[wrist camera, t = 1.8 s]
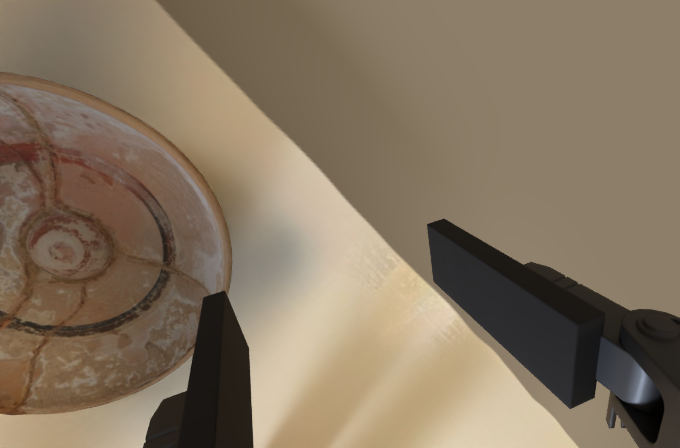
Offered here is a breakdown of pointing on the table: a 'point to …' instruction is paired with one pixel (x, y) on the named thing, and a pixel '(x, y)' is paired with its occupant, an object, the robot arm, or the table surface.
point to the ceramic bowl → (96, 250)
